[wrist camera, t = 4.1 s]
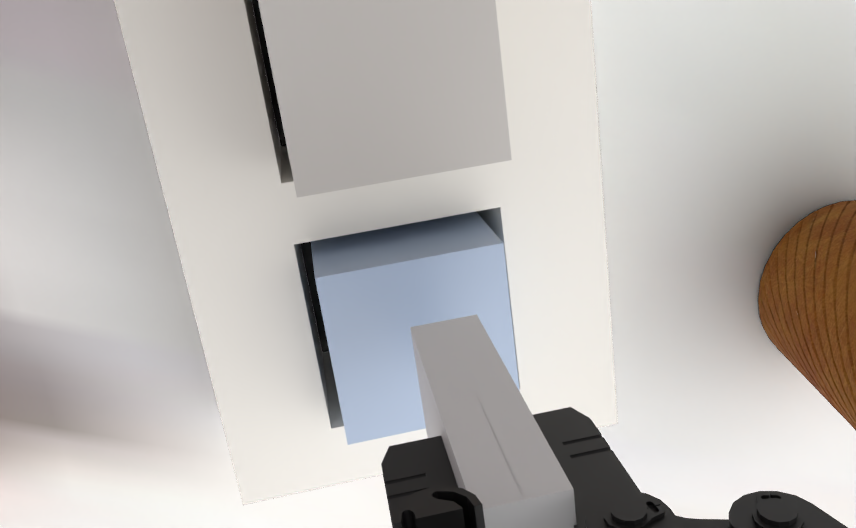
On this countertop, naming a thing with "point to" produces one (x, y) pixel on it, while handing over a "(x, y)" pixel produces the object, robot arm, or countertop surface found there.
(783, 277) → the disposable coffee cup
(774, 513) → the robot arm
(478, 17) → the key grey
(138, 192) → the countertop surface
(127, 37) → the keypad base
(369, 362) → the key blue
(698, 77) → the countertop surface
